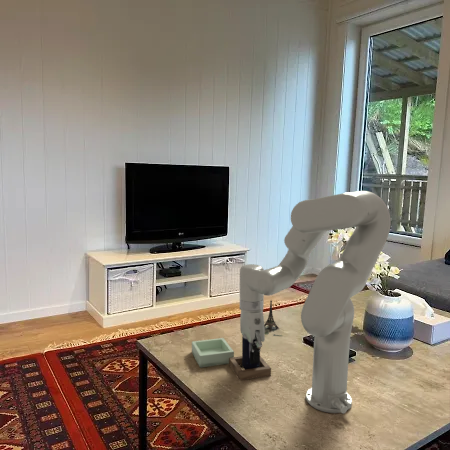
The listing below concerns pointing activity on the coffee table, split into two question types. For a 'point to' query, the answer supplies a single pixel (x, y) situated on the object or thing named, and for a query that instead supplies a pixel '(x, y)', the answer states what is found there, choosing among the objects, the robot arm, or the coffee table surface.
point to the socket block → (249, 373)
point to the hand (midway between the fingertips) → (251, 358)
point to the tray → (212, 352)
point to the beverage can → (247, 354)
